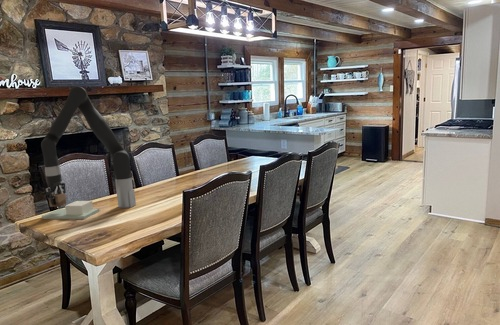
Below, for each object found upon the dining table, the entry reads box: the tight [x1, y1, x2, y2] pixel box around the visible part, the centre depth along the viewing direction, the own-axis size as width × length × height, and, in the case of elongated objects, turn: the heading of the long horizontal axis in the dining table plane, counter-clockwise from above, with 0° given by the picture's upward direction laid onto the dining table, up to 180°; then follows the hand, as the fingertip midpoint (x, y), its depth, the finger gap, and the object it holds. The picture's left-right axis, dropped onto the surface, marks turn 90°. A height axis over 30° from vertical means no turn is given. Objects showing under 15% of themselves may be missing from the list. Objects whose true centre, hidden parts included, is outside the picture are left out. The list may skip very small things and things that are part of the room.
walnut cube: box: [48, 193, 67, 208], centre depth 213 cm, size 6×6×6 cm
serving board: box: [41, 208, 100, 220], centre depth 214 cm, size 26×14×2 cm, turn 80°
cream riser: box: [64, 200, 94, 215], centre depth 213 cm, size 10×10×5 cm
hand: (58, 203), depth 213 cm, fingers closed on walnut cube, 6 cm apart
